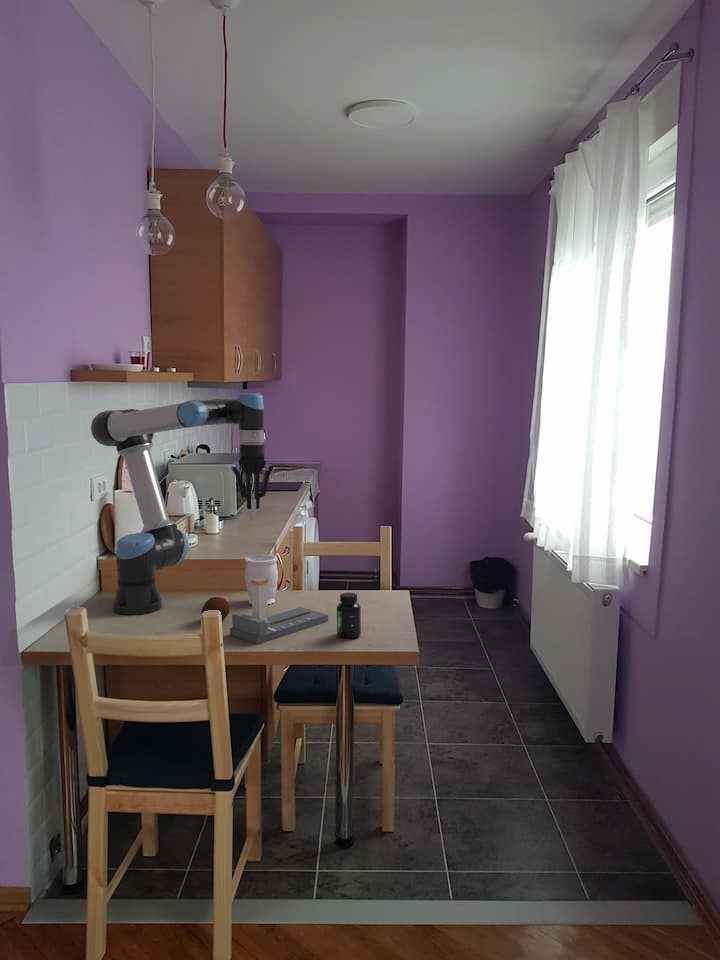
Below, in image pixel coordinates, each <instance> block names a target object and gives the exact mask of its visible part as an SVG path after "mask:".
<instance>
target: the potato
mask: <svg viewBox="0 0 720 960" xmlns="http://www.w3.org/2000/svg"><path fill="white" fill-rule="evenodd" d="M208 610H219V611H220V612H221V615H222V621H224V619H226V618H227V617H228V615H229V614H230V610H231V609H230V606H229V602H228V601H227V600H226V599H225V598H223V597H220V596H219V597H218V596H213V597H209V599H207V600H206V601H205V603H204V604H203V606H202V608H201V612H200V613H201V614H202V613H203V612H204V611H208Z"/></svg>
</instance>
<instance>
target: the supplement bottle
mask: <svg viewBox="0 0 720 960" xmlns="http://www.w3.org/2000/svg"><path fill="white" fill-rule="evenodd" d="M339 596H340V597H339V603H338V604H337V605H336V635H337V637H338V638H339V639H343V640H354V639H358V638H359V637H360V636H361V634H362V633H361V632H362V625H361V624H362V623H361V622H362V616H361V615H362V610H361V609H362V607H361V604H360V603H358V594H357V593H355V592H341V594H340V595H339Z"/></svg>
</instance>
